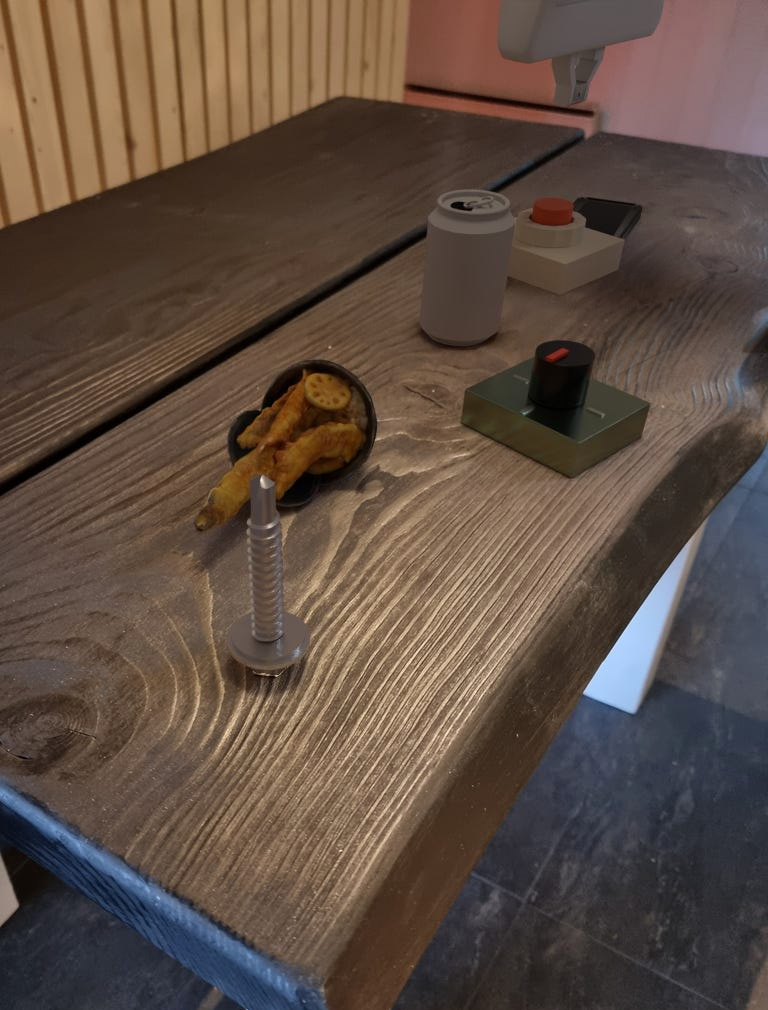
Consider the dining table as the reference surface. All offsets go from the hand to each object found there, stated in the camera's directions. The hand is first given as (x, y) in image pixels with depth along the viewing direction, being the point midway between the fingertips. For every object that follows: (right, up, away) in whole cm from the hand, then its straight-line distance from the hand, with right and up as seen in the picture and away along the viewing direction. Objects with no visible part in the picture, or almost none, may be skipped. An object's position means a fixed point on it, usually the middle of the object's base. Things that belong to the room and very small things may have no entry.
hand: (569, 103), depth 89 cm
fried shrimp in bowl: (-27, -41, -21) cm, 54 cm away
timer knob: (-6, -33, -17) cm, 37 cm away
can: (-11, -23, -1) cm, 25 cm away
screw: (-28, -53, -34) cm, 69 cm away
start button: (0, -8, +7) cm, 11 cm away
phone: (+8, -4, +18) cm, 21 cm away
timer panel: (-6, -35, -15) cm, 38 cm away
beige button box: (0, -11, +10) cm, 16 cm away
